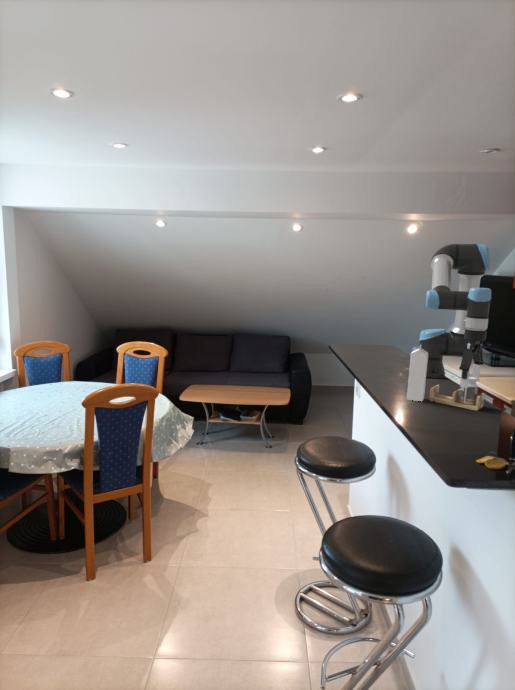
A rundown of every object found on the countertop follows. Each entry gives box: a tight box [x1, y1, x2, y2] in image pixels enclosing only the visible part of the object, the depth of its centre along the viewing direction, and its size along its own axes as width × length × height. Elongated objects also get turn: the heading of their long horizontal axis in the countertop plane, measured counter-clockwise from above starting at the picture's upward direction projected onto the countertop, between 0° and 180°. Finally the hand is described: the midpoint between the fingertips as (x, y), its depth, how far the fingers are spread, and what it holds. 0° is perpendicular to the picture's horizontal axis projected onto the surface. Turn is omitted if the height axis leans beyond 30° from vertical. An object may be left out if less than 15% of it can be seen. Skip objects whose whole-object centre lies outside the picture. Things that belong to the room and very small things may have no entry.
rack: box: [428, 384, 485, 411], centre depth 176 cm, size 8×18×5 cm, turn 49°
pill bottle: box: [460, 376, 479, 404], centre depth 173 cm, size 6×6×10 cm
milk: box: [406, 345, 428, 403], centre depth 179 cm, size 6×6×22 cm
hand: (469, 383), depth 173 cm, fingers open, 13 cm apart
